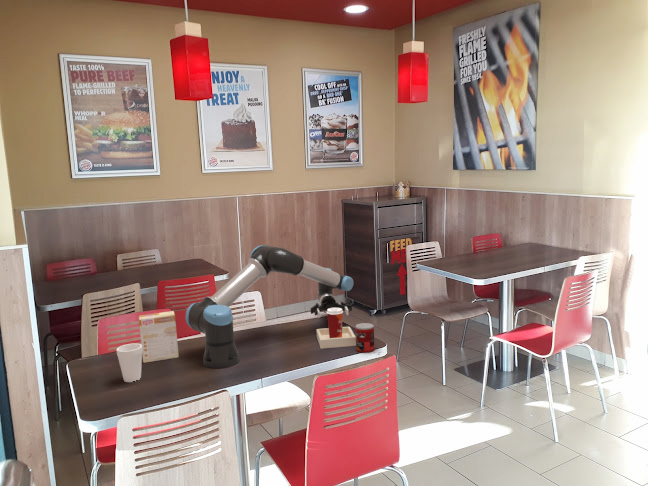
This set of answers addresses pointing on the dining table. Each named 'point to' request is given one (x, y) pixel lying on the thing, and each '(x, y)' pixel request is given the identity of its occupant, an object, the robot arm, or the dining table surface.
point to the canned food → (364, 337)
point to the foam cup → (130, 361)
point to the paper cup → (335, 322)
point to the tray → (344, 341)
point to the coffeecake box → (158, 336)
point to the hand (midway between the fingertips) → (333, 313)
